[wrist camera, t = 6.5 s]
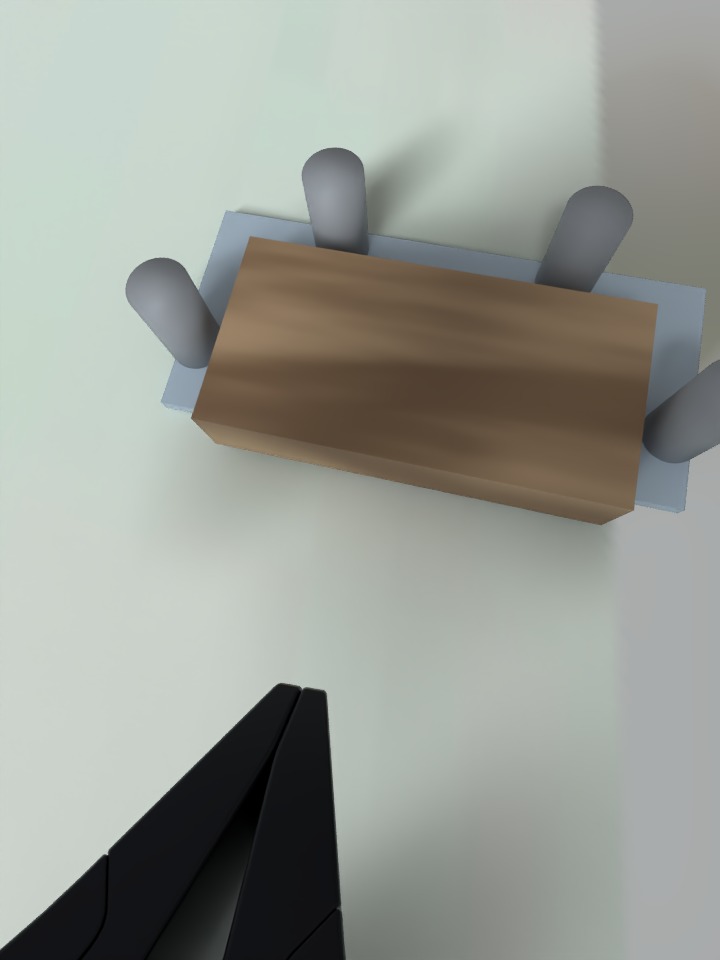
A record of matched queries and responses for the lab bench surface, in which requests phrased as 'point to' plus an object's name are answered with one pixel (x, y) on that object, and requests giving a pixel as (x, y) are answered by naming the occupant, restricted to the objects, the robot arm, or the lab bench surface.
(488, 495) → the shelf board
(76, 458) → the lab bench surface
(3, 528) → the lab bench surface
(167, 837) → the robot arm
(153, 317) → the peg plate
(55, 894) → the lab bench surface
